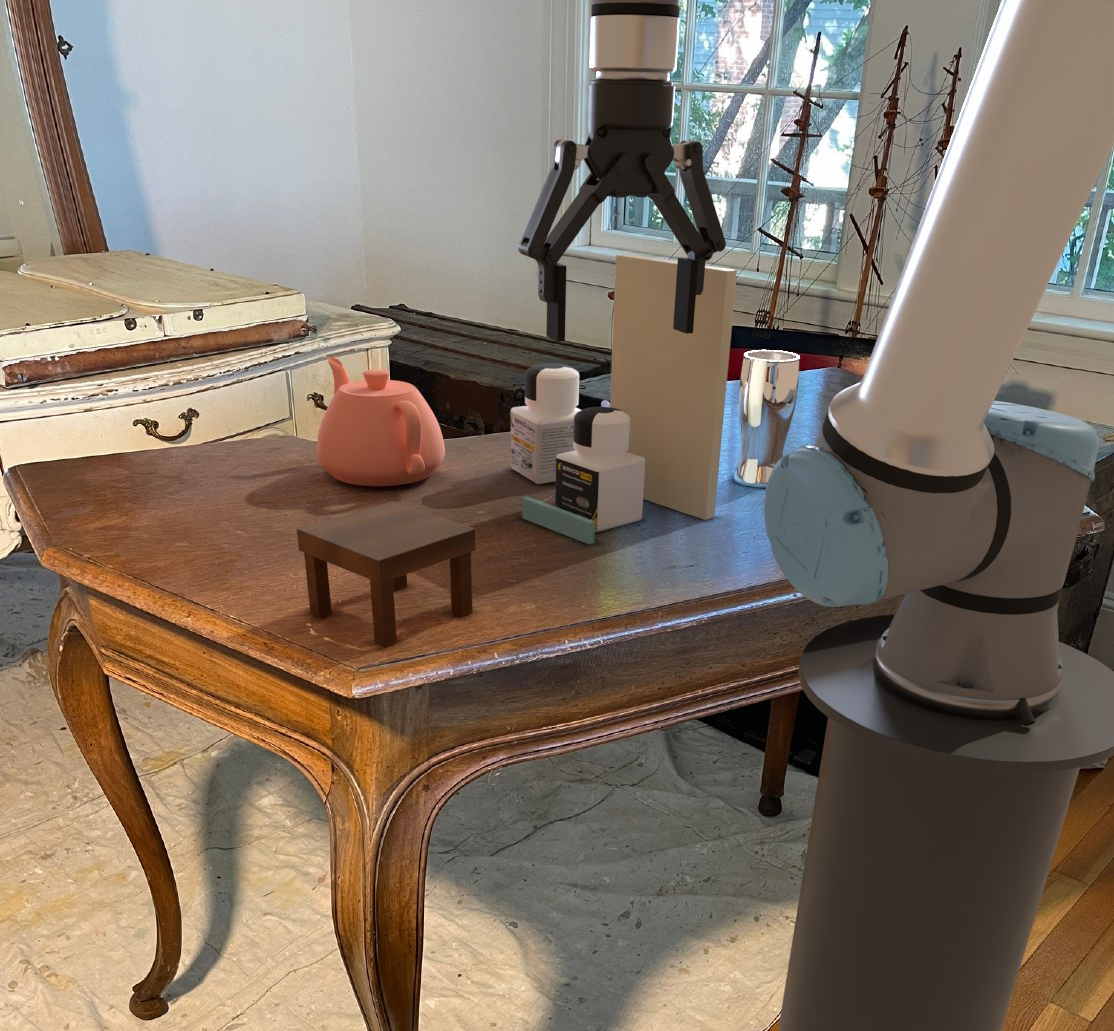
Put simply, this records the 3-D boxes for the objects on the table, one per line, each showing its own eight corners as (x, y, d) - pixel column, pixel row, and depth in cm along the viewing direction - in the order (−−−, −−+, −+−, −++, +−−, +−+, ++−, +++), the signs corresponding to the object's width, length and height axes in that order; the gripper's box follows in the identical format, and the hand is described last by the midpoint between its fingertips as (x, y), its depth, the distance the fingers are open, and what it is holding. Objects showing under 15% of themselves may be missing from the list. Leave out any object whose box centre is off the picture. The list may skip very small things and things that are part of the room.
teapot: (284, 460, 141) (273, 360, 135) (391, 443, 149) (386, 347, 143) (363, 506, 126) (355, 395, 120) (478, 484, 134) (476, 378, 128)
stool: (477, 612, 100) (475, 528, 96) (384, 650, 93) (378, 560, 89) (398, 581, 107) (393, 500, 103) (305, 613, 100) (296, 528, 96)
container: (510, 468, 140) (509, 362, 134) (563, 461, 143) (565, 358, 137) (537, 485, 134) (537, 375, 128) (592, 477, 137) (596, 370, 131)
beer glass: (755, 469, 142) (768, 347, 134) (797, 482, 137) (813, 356, 130) (718, 478, 138) (729, 354, 130) (761, 492, 133) (775, 363, 126)
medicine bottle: (553, 516, 124) (555, 408, 118) (600, 504, 128) (604, 399, 122) (595, 533, 119) (599, 422, 113) (643, 520, 123) (649, 412, 117)
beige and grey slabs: (714, 517, 125) (737, 270, 112) (605, 551, 115) (616, 283, 102) (615, 484, 135) (626, 254, 122) (507, 512, 125) (506, 265, 112)
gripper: (734, 81, 102) (714, 321, 113) (481, 74, 94) (485, 335, 105) (778, 80, 97) (752, 334, 107) (513, 73, 88) (513, 350, 99)
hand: (620, 335), depth 106 cm, fingers open, 13 cm apart
